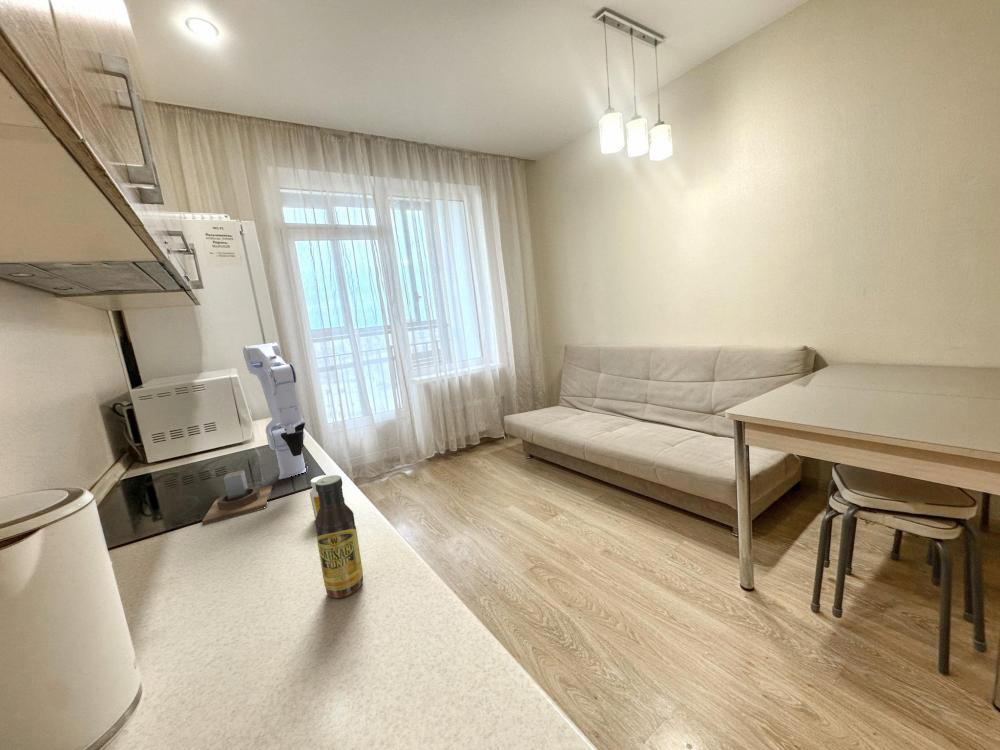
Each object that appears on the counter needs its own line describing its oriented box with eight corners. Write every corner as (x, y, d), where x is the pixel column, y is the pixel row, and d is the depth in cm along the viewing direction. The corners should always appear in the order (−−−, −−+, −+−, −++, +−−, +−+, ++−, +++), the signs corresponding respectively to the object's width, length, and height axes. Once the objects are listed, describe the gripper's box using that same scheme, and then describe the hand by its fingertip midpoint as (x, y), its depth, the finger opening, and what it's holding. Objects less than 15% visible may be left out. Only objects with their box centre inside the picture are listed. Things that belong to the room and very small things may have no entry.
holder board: (217, 502, 111) (214, 492, 110) (272, 488, 116) (270, 478, 116) (202, 524, 98) (200, 513, 97) (266, 507, 103) (263, 497, 103)
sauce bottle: (323, 605, 64) (299, 492, 61) (329, 581, 70) (307, 477, 67) (365, 593, 65) (343, 483, 62) (367, 571, 71) (347, 469, 68)
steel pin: (233, 500, 108) (226, 473, 107) (250, 496, 109) (243, 469, 108) (230, 506, 104) (223, 478, 103) (247, 502, 106) (240, 474, 105)
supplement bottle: (343, 512, 95) (336, 475, 94) (324, 523, 91) (315, 485, 89) (330, 508, 98) (323, 472, 97) (310, 519, 94) (302, 481, 92)
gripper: (275, 405, 117) (285, 448, 119) (269, 414, 104) (280, 462, 106) (301, 400, 120) (310, 442, 122) (298, 408, 106) (308, 455, 108)
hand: (298, 451), depth 114 cm, fingers open, 7 cm apart
